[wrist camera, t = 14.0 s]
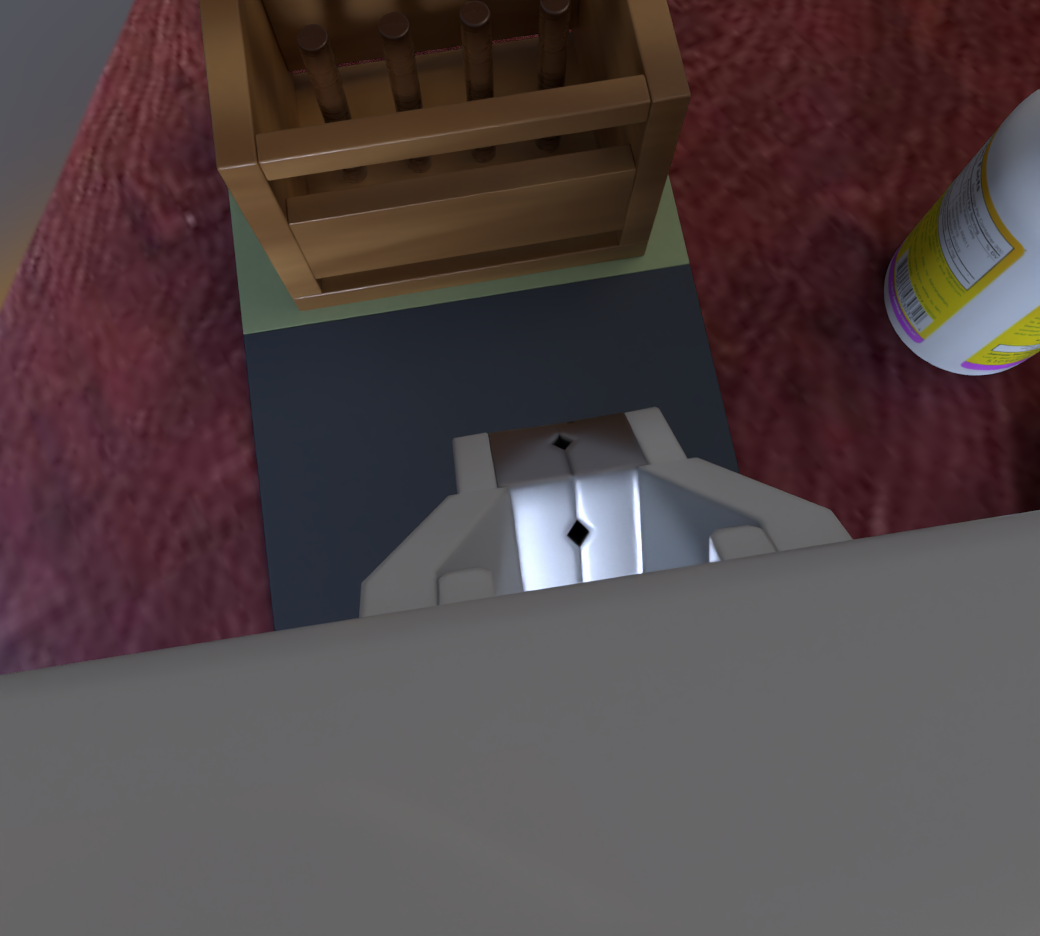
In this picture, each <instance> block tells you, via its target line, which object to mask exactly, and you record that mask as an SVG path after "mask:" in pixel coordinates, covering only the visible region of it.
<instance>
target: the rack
mask: <svg viewBox="0 0 1040 936" xmlns="http://www.w3.org/2000/svg"><path fill="white" fill-rule="evenodd" d="M199 8H200V18H201V27H202V36H203V46H204V55H205V64H206V74H207V83H208V92H209V101H210V111H211V120H212V129H213V139H214V148H215V157H216V167H217V170H218V172H219V173H220V175H221V177H222V178H223V180H224V182H225V184H226V185H227V187H228V189H229V190H230V192H231V194H232V196H233V197H234V199H235V201H236V203H237V204H238V206H239V208H240V209H241V211H242V213H243V215H244V216H245V218H246V220H247V221H248V223H249V225H250V227H251V228H252V230H253V232H254V233H255V235H256V237H257V239H258V240H259V242H260V244H261V246H262V247H263V249H264V251H265V252H266V254H267V256H268V258H269V259H270V261H271V263H272V264H273V266H274V268H275V270H276V271H277V273H278V275H279V277H280V278H281V280H282V282H283V283H284V285H285V287H286V289H287V290H288V292H289V294H290V295H291V297H292V299H293V301H294V302H295V304H296V306H297V307H298V309H299V311H306V310H312V309H318V308H324V307H330V306H336V305H342V304H349V303H355V302H361V301H367V300H373V299H379V298H386V297H392V296H398V295H404V294H410V293H416V292H422V291H429V290H435V289H441V288H447V287H453V286H459V285H465V284H472V283H478V282H484V281H490V280H496V279H502V278H509V277H515V276H521V275H527V274H533V273H539V272H545V271H552V270H558V269H564V268H570V267H576V266H582V265H588V264H595V263H601V262H607V261H613V260H619V259H625V258H632V257H638V256H643V255H645V251H646V248H647V244H648V241H649V238H650V235H651V231H652V228H653V224H654V221H655V217H656V214H657V211H658V207H659V204H660V200H661V197H662V193H663V190H664V186H665V183H666V180H667V176H668V173H669V169H670V166H671V162H672V159H673V156H674V152H675V149H676V145H677V142H678V138H679V135H680V131H681V128H682V125H683V121H684V118H685V114H686V111H687V107H688V104H689V100H690V97H691V94H690V90H689V86H688V82H687V78H686V74H685V70H684V66H683V62H682V59H681V55H680V51H679V47H678V43H677V39H676V35H675V31H674V28H673V24H672V20H671V16H670V12H669V8H668V4H667V0H199ZM569 29H571V32H569ZM533 34H539V37H536V38H529V39H523V40H516V41H510V42H503V43H496V44H492V41H494V40H500V39H507V38H513V37H520V36H527V35H533ZM460 45H462V49H456V50H450V51H443V52H437V53H430V54H423V55H417V56H415V53H414V52H421V51H427V50H434V49H440V48H447V47H454V46H460ZM381 57H385V60H384V61H377V62H370V63H364V64H357V65H350V66H344V67H337V64H341V63H348V62H354V61H361V60H368V59H374V58H381ZM301 69H306V70H307V72H304V73H297V74H293V72H292V71H295V70H301Z"/></svg>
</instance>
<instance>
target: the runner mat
mask: <svg viewBox="0 0 1040 936" xmlns="http://www.w3.org/2000/svg"><path fill="white" fill-rule="evenodd" d="M228 191H229V201H230V210H231V220H232V229H233V239H234V248H235V258H236V267H237V277H238V287H239V296H240V306H241V315H242V325H243V334H244V344H245V353H246V363H247V372H248V382H249V391H250V401H251V410H252V420H253V429H254V439H255V448H256V458H257V468H258V477H259V487H260V496H261V506H262V515H263V525H264V534H265V544H266V553H267V563H268V572H269V582H270V591H271V601H272V610H273V620H274V629H275V631H279V630H285V629H292V628H298V627H304V626H311V625H317V624H323V623H330V622H336V621H342V620H349V619H355V618H359V611H360V597H361V584H362V582H363V581H364V580H365V579H366V578H367V577H368V576H369V575H370V574H371V573H372V572H373V571H374V570H375V569H376V568H377V567H378V566H379V565H380V564H381V563H382V562H383V561H384V560H385V559H386V558H387V557H388V556H389V555H390V554H391V553H392V552H393V551H394V550H395V549H396V548H397V547H398V546H399V545H400V544H401V543H402V542H403V541H404V540H405V539H406V538H407V537H408V536H409V535H410V534H411V533H412V532H413V531H414V530H415V529H416V528H417V527H418V526H419V525H420V524H421V523H422V522H423V521H424V520H425V519H426V518H427V517H428V516H429V515H430V514H431V513H432V512H433V511H434V510H435V509H436V508H437V507H438V506H439V505H440V504H441V503H442V502H443V500H444V499H445V498H446V497H447V496H449V495H455V494H457V485H456V475H455V464H454V454H453V444H452V441H453V438H457V437H463V436H468V435H474V434H480V433H485V432H486V433H487V434H488V433H491V432H499V431H506V430H514V429H521V428H529V427H536V426H544V425H551V424H559V423H564V422H570V421H576V420H582V419H587V418H593V417H599V416H604V415H610V414H616V413H622V412H623V413H626V412H631V411H636V410H641V409H646V408H651V407H657V408H659V409H660V411H661V413H662V414H663V416H664V418H665V420H666V421H667V423H668V425H669V427H670V429H671V430H672V432H673V434H674V436H675V437H676V439H677V441H678V443H679V444H680V446H681V448H682V450H683V452H684V453H685V455H686V457H687V459H689V458H696V457H697V458H700V459H703V460H705V461H708V462H710V463H713V464H715V465H718V466H720V467H723V468H725V469H728V470H730V471H733V472H736V473H738V474H740V472H739V468H738V464H737V460H736V455H735V451H734V447H733V443H732V439H731V435H730V430H729V426H728V422H727V418H726V414H725V409H724V405H723V401H722V397H721V393H720V389H719V384H718V380H717V376H716V372H715V368H714V363H713V359H712V355H711V351H710V347H709V343H708V338H707V334H706V330H705V326H704V322H703V317H702V313H701V309H700V305H699V301H698V297H697V292H696V288H695V284H694V280H693V276H692V271H691V267H690V264H689V259H688V255H687V251H686V246H685V242H684V238H683V234H682V230H681V225H680V221H679V217H678V213H677V209H676V204H675V200H674V196H673V192H672V188H671V184H670V179H669V175H668V176H667V180H666V183H665V186H664V190H663V193H662V197H661V200H660V204H659V207H658V211H657V214H656V217H655V221H654V224H653V228H652V231H651V235H650V238H649V241H648V244H647V248H646V251H645V255H643V256H638V257H632V258H625V259H619V260H613V261H607V262H601V263H595V264H588V265H582V266H576V267H570V268H564V269H558V270H552V271H545V272H539V273H533V274H527V275H521V276H515V277H509V278H502V279H496V280H490V281H484V282H478V283H472V284H465V285H459V286H453V287H447V288H441V289H435V290H429V291H422V292H416V293H410V294H404V295H398V296H392V297H386V298H379V299H373V300H367V301H361V302H355V303H349V304H342V305H336V306H330V307H324V308H318V309H312V310H306V311H299V309H298V307H297V306H296V304H295V302H294V301H293V299H292V297H291V295H290V294H289V292H288V290H287V289H286V287H285V285H284V283H283V282H282V280H281V278H280V277H279V275H278V273H277V271H276V270H275V268H274V266H273V264H272V263H271V261H270V259H269V258H268V256H267V254H266V252H265V251H264V249H263V247H262V246H261V244H260V242H259V240H258V239H257V237H256V235H255V233H254V232H253V230H252V228H251V227H250V225H249V223H248V221H247V220H246V218H245V216H244V215H243V213H242V211H241V209H240V208H239V206H238V204H237V203H236V201H235V199H234V197H233V196H232V194H231V192H230V190H229V189H228ZM488 437H489V434H488ZM489 443H490V441H489Z"/></svg>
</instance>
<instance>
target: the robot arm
mask: <svg viewBox="0 0 1040 936" xmlns="http://www.w3.org/2000/svg"><path fill="white" fill-rule="evenodd" d="M488 434H489V437H488ZM488 434H487V433H486V432H485V433H480V434H474V435H468V436H463V437H457V438H453V441H452V444H453V454H454V464H455V475H456V485H457V494H455V495H449V496H447V497H446V498H445V499H444V500H443V502H442V503H441V504H440V505H439V506H438V507H437V508H436V509H435V510H434V511H433V512H432V513H431V514H430V515H429V516H428V517H427V518H426V519H425V520H424V521H423V522H422V523H421V524H420V525H419V526H418V527H417V528H416V529H415V530H414V531H413V532H412V533H411V534H410V535H409V536H408V537H407V538H406V539H405V540H404V541H403V542H402V543H401V544H400V545H399V546H398V547H397V548H396V549H395V550H394V551H393V552H392V553H391V554H390V555H389V556H388V557H387V558H386V559H385V560H384V561H383V562H382V563H381V564H380V565H379V566H378V567H377V568H376V569H375V570H374V571H373V572H372V573H371V574H370V575H369V576H368V577H367V578H366V579H365V580H364V581H363V582H362V584H361V597H360V611H359V618H355V619H349V620H342V621H336V622H330V623H323V624H317V625H311V626H304V627H298V628H292V629H285V630H279V631H273V632H267V633H260V634H254V635H248V636H242V637H235V638H229V639H223V640H216V641H210V642H204V643H198V644H191V645H185V646H179V647H173V648H166V649H160V650H154V651H148V652H141V653H135V654H129V655H123V656H116V657H110V658H104V659H97V660H91V661H85V662H79V663H72V664H66V665H60V666H53V667H47V668H41V669H34V670H28V671H22V672H16V673H9V674H3V675H0V936H1040V510H1036V511H1030V512H1024V513H1018V514H1011V515H1005V516H999V517H992V518H986V519H980V520H974V521H967V522H961V523H955V524H948V525H942V526H936V527H930V528H923V529H917V530H911V531H904V532H898V533H892V534H886V535H879V536H873V537H867V538H860V539H854V540H853V539H852V538H851V536H850V535H849V534H848V532H847V531H846V530H845V528H844V527H843V526H842V524H841V523H840V522H839V520H838V519H837V518H836V516H835V515H834V514H833V512H832V511H831V510H830V509H827V508H824V507H822V506H819V505H817V504H814V503H812V502H809V501H807V500H804V499H802V498H799V497H796V496H794V495H791V494H789V493H786V492H784V491H781V490H779V489H776V488H774V487H771V486H769V485H766V484H763V483H761V482H758V481H756V480H753V479H751V478H748V477H746V476H743V475H741V474H738V473H736V472H733V471H730V470H728V469H725V468H723V467H720V466H718V465H715V464H713V463H710V462H708V461H705V460H703V459H700V458H697V457H696V458H689V459H687V457H686V455H685V453H684V452H683V450H682V448H681V446H680V444H679V443H678V441H677V439H676V437H675V436H674V434H673V432H672V430H671V429H670V427H669V425H668V423H667V421H666V420H665V418H664V416H663V414H662V413H661V411H660V409H659V408H657V407H651V408H646V409H641V410H636V411H631V412H626V413H623V412H622V413H616V414H610V415H604V416H599V417H593V418H587V419H582V420H576V421H570V422H564V423H559V424H551V425H544V426H536V427H529V428H521V429H514V430H506V431H499V432H491V433H488ZM489 441H490V443H489Z"/></svg>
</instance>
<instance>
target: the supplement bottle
mask: <svg viewBox="0 0 1040 936" xmlns="http://www.w3.org/2000/svg"><path fill="white" fill-rule="evenodd" d="M884 300H885V306H886V310H887V314H888V317H889V319H890V321H891V324H892V326H893V327H894V329H895V331H896V333H897V334H898V335H899V337H900V338H901V340H902V341H903V342H904V343H905V344H906V345H907V346H908V347H909V348H910V349H911V350H912V351H913V352H914V353H915V354H917V355H918V356H919V357H921V358H922V359H924V360H925V361H927V362H929V363H930V364H932V365H934V366H936V367H939V368H941V369H944V370H947V371H950V372H953V373H958V374H964V375H987V374H994V373H998V372H1002V371H1005V370H1008V369H1010V368H1012V367H1015V366H1017V365H1018V364H1020V363H1022V362H1024V361H1025V360H1027V359H1028V358H1030V357H1032V356H1033V355H1035V354H1036V353H1038V352H1039V351H1040V89H1039V90H1037V91H1035V92H1034V93H1032V94H1031V95H1030V96H1029V97H1027V98H1026V99H1025V100H1024V101H1022V102H1021V103H1020V104H1019V105H1018V106H1017V107H1016V108H1015V109H1014V110H1013V112H1012V113H1011V114H1010V115H1009V116H1008V117H1007V118H1006V119H1005V120H1004V121H1003V123H1002V124H1001V125H1000V126H999V127H998V129H997V130H996V131H995V132H994V134H993V135H992V136H991V137H990V138H989V139H988V141H987V142H986V143H985V144H984V146H983V147H982V148H981V149H980V150H979V152H978V153H977V154H976V155H975V156H974V158H973V159H972V160H971V161H970V162H969V164H968V165H967V166H966V167H965V168H964V169H963V171H962V172H961V173H960V174H959V175H958V177H957V178H956V179H955V180H954V181H953V182H952V183H951V185H950V186H949V187H948V188H947V190H946V191H945V192H944V193H943V194H942V196H941V197H940V198H939V199H938V201H937V202H936V203H935V204H934V205H933V207H932V208H931V209H930V210H929V211H928V212H927V214H926V215H925V216H924V217H923V218H922V219H921V221H920V222H919V223H918V224H917V225H916V227H915V228H914V229H913V230H912V231H911V233H910V234H909V235H908V236H907V238H906V239H905V240H904V241H903V242H902V244H901V245H900V247H899V248H898V249H897V251H896V252H895V254H894V256H893V258H892V259H891V262H890V264H889V266H888V269H887V272H886V276H885V282H884Z"/></svg>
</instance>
